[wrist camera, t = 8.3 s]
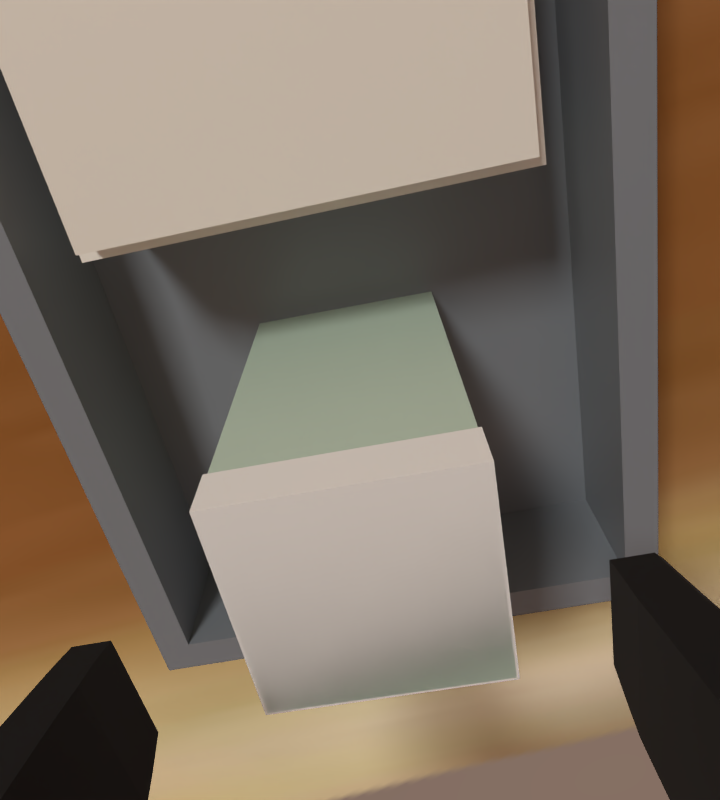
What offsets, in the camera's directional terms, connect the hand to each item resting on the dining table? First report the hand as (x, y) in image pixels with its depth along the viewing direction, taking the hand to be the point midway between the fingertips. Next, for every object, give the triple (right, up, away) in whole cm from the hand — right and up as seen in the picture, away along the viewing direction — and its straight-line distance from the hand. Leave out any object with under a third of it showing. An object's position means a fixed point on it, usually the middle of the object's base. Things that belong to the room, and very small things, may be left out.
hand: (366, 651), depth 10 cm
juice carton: (0, +4, +8) cm, 9 cm away
